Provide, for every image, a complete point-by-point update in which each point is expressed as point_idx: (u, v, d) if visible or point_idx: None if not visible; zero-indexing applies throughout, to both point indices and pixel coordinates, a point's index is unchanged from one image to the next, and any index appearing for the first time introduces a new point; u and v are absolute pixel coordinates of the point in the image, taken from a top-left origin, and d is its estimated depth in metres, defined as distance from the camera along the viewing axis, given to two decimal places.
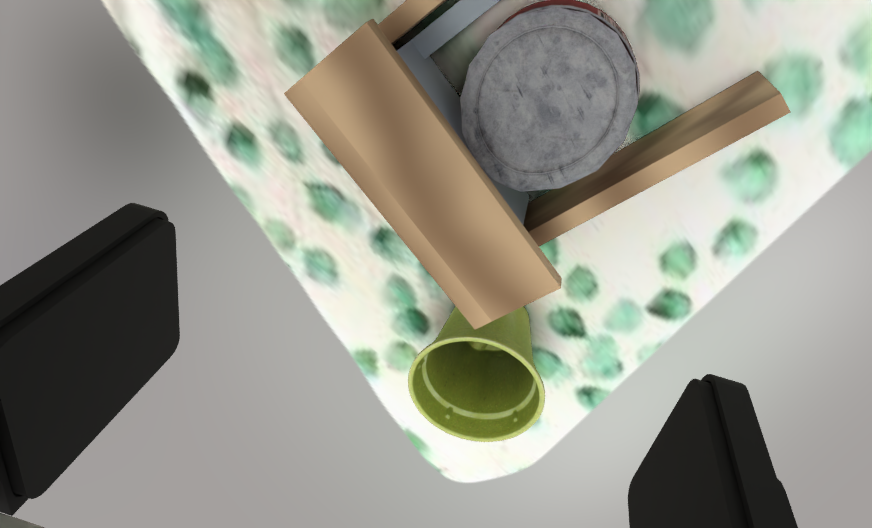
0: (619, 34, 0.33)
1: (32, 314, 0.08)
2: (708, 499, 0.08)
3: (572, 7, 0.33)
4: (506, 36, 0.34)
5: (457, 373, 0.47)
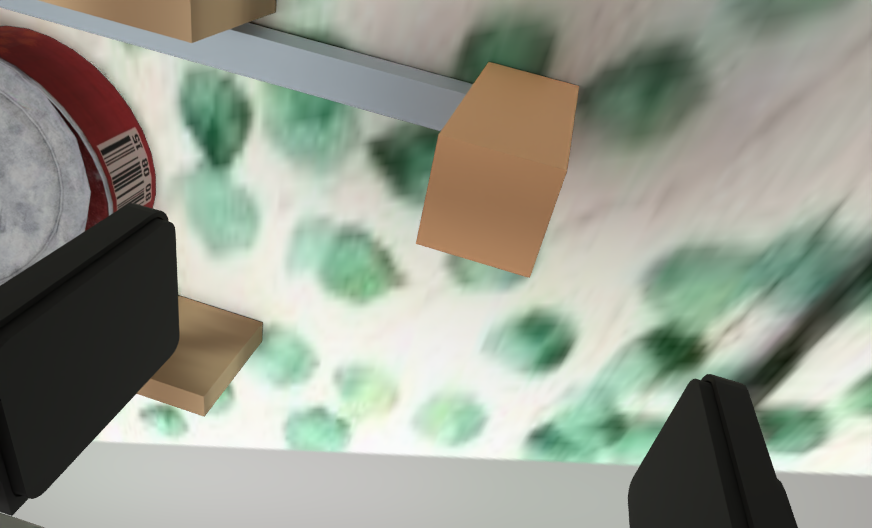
0: (106, 189, 0.23)
1: (32, 314, 0.08)
2: (708, 499, 0.08)
3: (62, 112, 0.21)
4: None
5: None
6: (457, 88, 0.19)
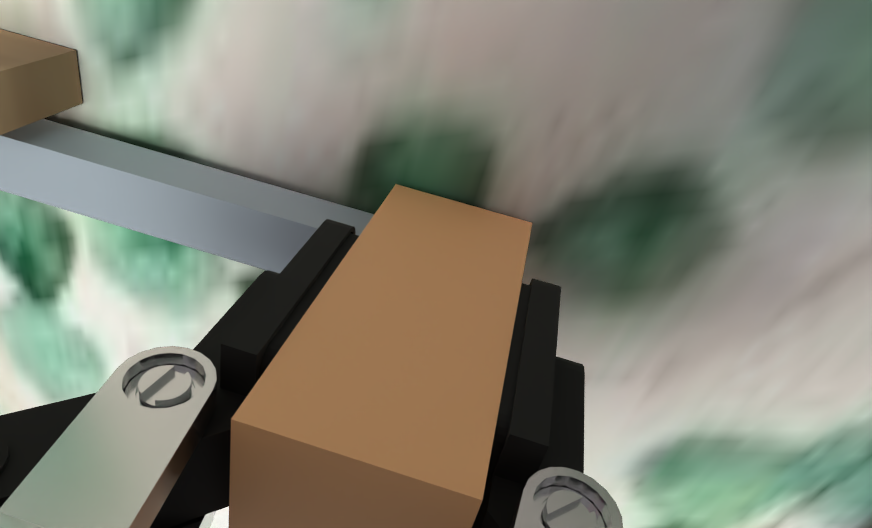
0: None
1: (292, 324, 0.09)
2: None
3: None
4: None
5: None
6: None
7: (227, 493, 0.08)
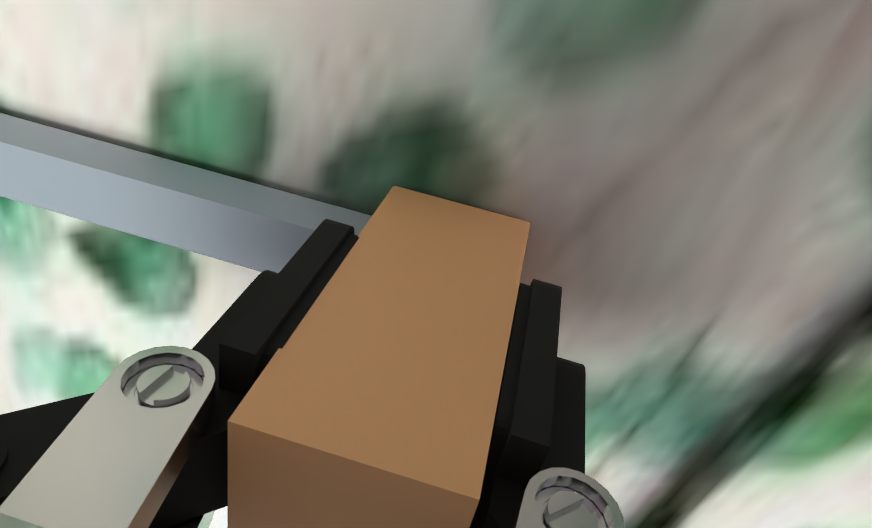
0: None
1: (290, 323, 0.09)
2: None
3: None
4: None
5: None
6: None
7: (226, 493, 0.08)
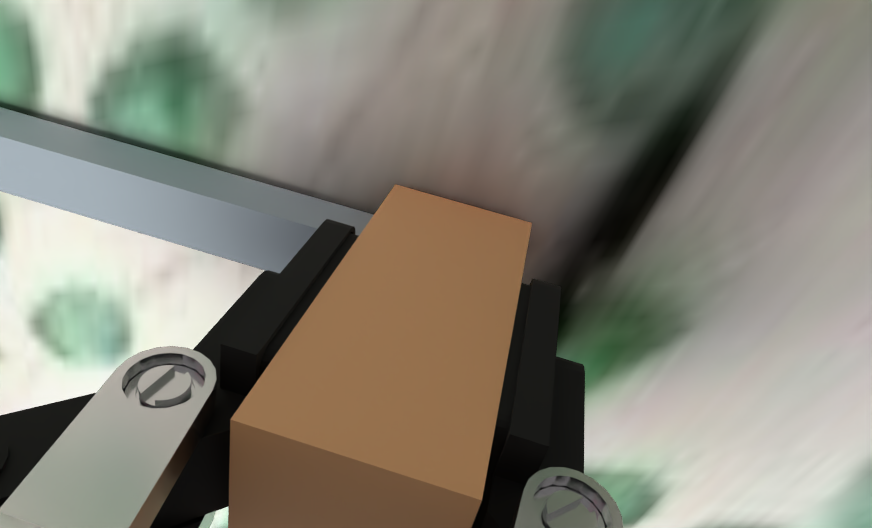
0: None
1: (291, 324, 0.09)
2: None
3: None
4: None
5: None
6: None
7: (227, 493, 0.08)
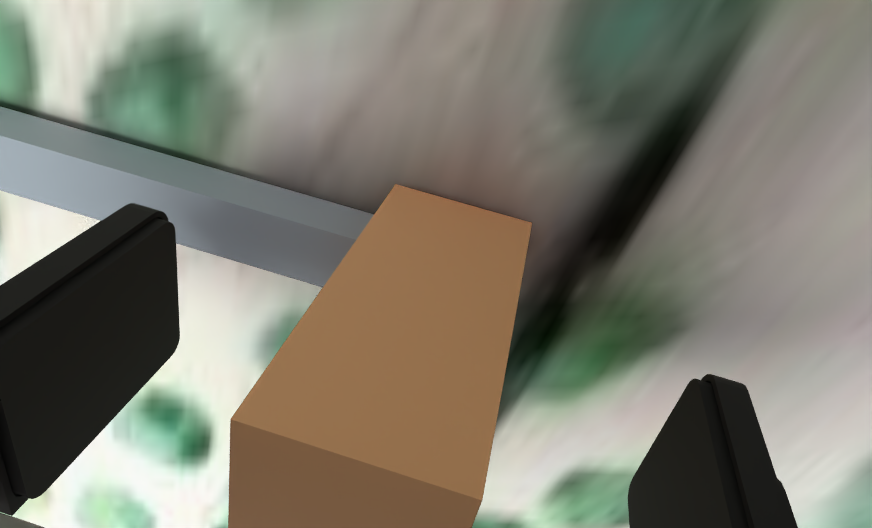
0: None
1: (32, 314, 0.08)
2: (708, 499, 0.08)
3: None
4: None
5: None
6: (346, 227, 0.12)
7: None
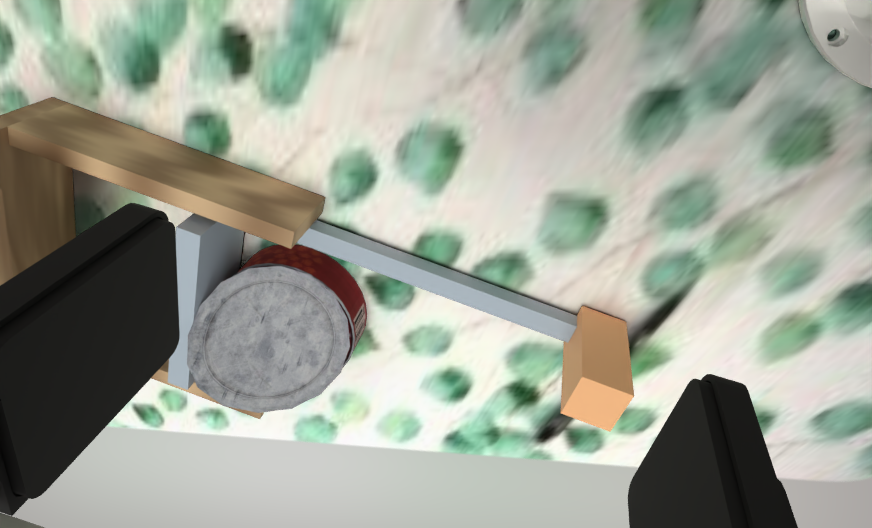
0: (353, 342, 0.41)
1: (32, 314, 0.08)
2: (708, 499, 0.08)
3: (342, 305, 0.40)
4: (289, 278, 0.39)
5: None
6: (567, 319, 0.38)
7: None
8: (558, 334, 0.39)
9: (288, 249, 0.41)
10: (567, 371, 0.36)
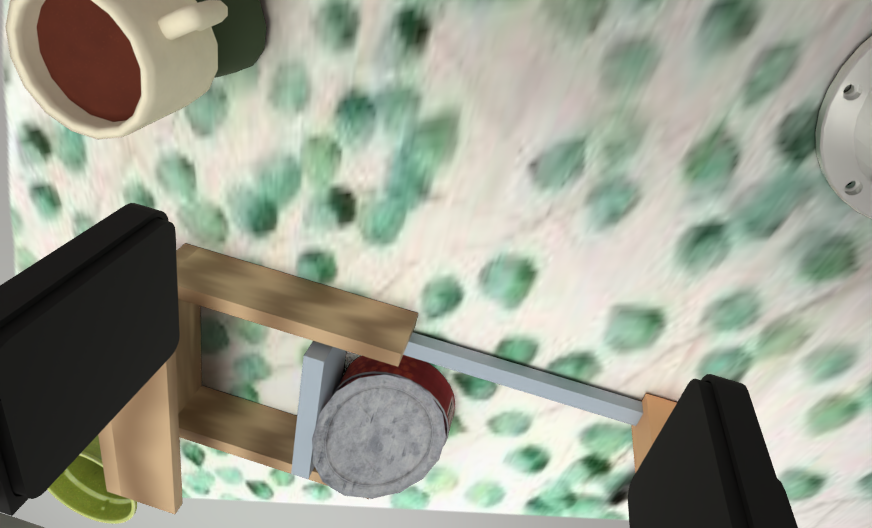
0: (447, 431, 0.48)
1: (32, 314, 0.08)
2: (708, 499, 0.08)
3: (438, 403, 0.46)
4: (392, 383, 0.46)
5: None
6: (634, 406, 0.44)
7: None
8: (627, 419, 0.45)
9: None
10: (639, 455, 0.42)
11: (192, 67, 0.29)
